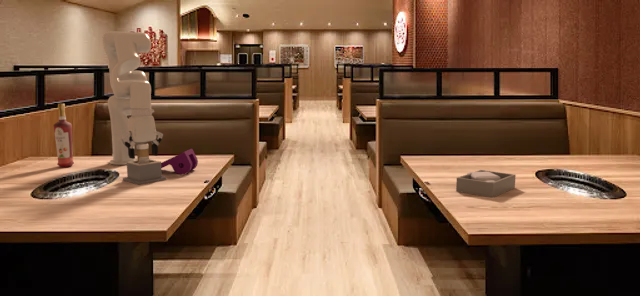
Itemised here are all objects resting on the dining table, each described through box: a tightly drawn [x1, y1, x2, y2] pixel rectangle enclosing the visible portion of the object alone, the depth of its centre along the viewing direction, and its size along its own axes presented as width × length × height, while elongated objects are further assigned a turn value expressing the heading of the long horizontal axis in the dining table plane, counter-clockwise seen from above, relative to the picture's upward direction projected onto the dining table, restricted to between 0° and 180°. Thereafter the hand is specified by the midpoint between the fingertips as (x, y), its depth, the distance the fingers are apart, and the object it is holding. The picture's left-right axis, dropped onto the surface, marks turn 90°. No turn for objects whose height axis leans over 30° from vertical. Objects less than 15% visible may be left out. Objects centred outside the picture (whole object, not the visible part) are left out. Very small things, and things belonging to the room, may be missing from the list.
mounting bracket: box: [161, 148, 199, 175], centre depth 220 cm, size 9×8×18 cm
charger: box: [467, 171, 500, 182], centre depth 188 cm, size 5×9×15 cm
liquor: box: [53, 103, 75, 168], centre depth 229 cm, size 7×7×28 cm
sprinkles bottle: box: [135, 142, 150, 164], centre depth 202 cm, size 5×5×14 cm
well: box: [122, 158, 167, 186], centre depth 203 cm, size 12×12×7 cm
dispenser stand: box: [455, 169, 517, 198], centre depth 188 cm, size 14×20×5 cm
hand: (143, 156), depth 202 cm, fingers open, 9 cm apart
